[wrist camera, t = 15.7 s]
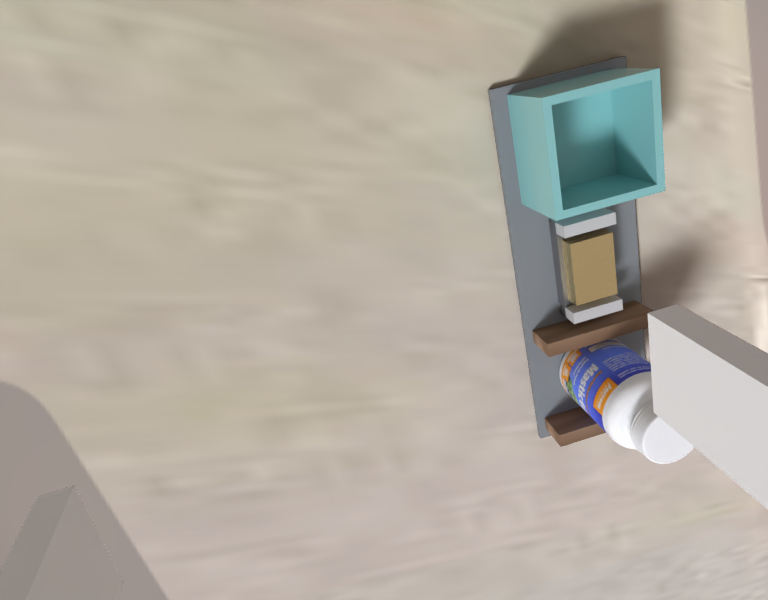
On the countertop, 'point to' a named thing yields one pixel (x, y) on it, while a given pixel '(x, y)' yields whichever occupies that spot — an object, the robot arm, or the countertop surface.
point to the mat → (537, 255)
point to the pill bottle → (621, 398)
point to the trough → (576, 336)
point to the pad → (590, 266)
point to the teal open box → (589, 141)
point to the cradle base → (558, 233)
